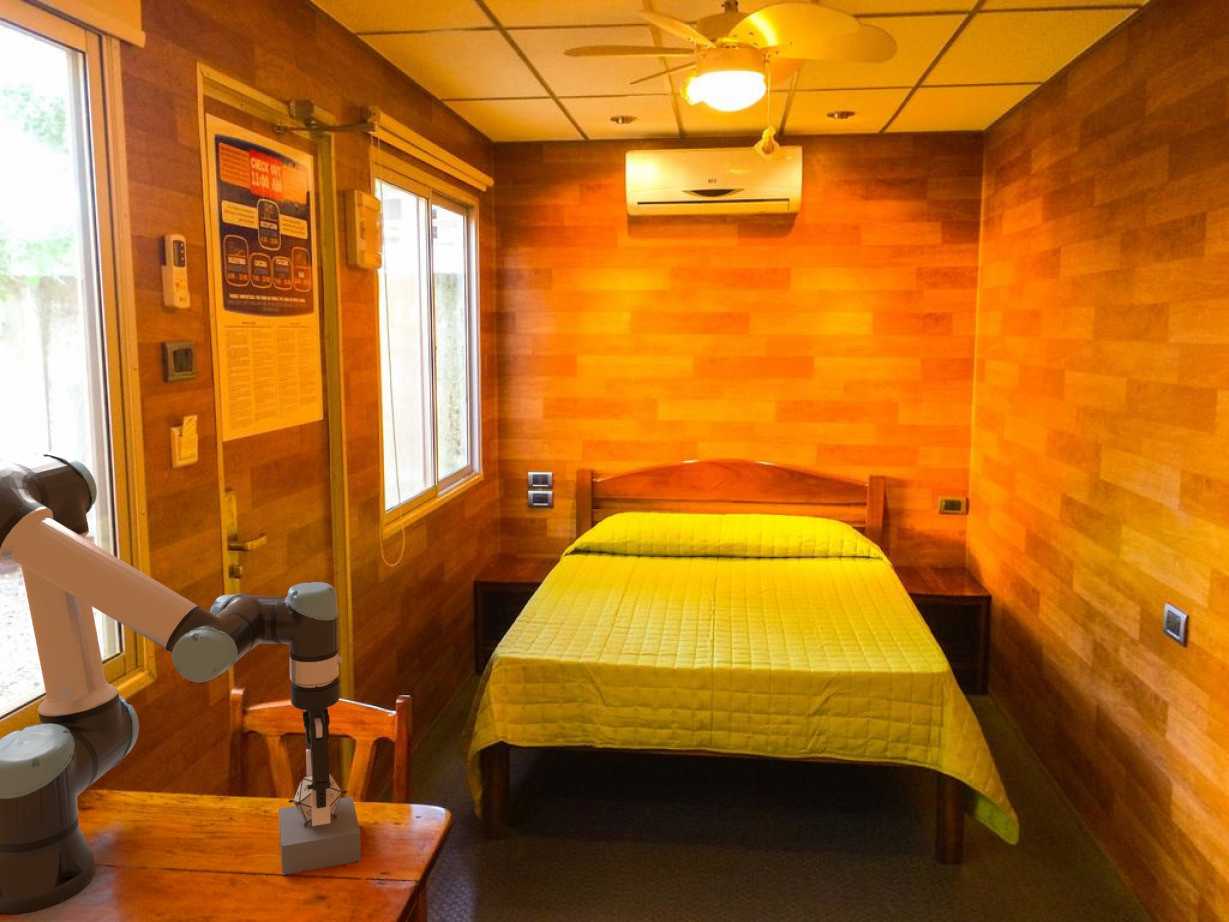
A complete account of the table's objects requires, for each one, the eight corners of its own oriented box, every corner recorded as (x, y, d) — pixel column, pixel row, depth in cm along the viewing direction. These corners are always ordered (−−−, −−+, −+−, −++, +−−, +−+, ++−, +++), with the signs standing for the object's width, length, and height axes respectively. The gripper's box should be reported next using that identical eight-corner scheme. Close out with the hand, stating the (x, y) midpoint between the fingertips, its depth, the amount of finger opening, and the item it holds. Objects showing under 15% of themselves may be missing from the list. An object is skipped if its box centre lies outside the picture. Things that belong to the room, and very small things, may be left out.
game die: (306, 842, 154) (267, 797, 152) (340, 804, 160) (303, 760, 159) (333, 835, 148) (293, 788, 147) (367, 795, 155) (329, 750, 153)
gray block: (282, 875, 147) (281, 846, 146) (279, 835, 158) (278, 808, 157) (360, 860, 151) (360, 832, 151) (352, 823, 162) (352, 796, 162)
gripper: (346, 705, 140) (349, 838, 144) (332, 650, 163) (335, 766, 166) (294, 712, 138) (298, 847, 141) (287, 655, 160) (290, 772, 163)
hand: (318, 803), depth 154 cm, fingers open, 12 cm apart
